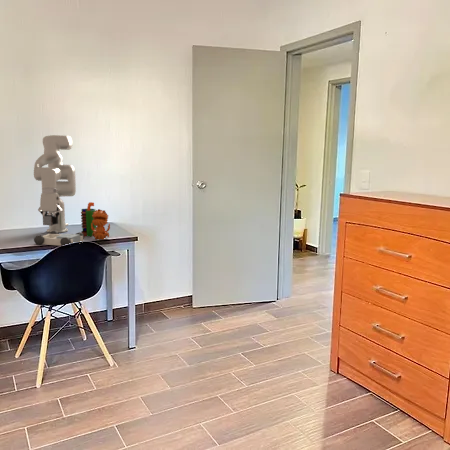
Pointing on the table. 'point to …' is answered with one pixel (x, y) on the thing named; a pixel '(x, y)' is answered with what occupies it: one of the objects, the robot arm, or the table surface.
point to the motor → (87, 220)
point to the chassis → (58, 238)
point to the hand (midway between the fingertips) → (50, 223)
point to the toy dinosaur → (100, 224)
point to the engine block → (48, 219)
